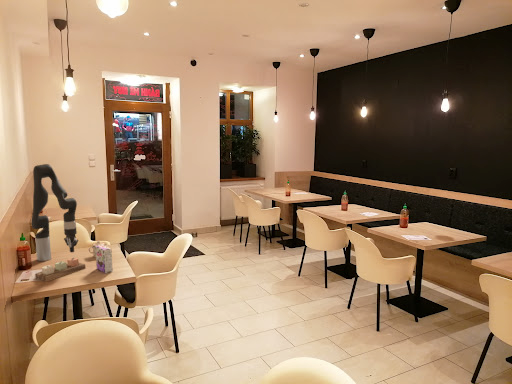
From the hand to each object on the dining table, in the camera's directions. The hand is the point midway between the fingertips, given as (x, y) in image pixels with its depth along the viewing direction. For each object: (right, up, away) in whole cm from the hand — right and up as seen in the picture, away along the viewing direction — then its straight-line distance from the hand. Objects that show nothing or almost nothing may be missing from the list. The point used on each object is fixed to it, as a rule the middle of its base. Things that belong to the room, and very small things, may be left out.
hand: (72, 252), depth 264 cm
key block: (-4, -13, -6) cm, 15 cm away
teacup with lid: (+5, -8, +31) cm, 33 cm away
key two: (-4, -10, -6) cm, 13 cm away
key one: (-9, -11, -14) cm, 20 cm away
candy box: (+23, -13, -1) cm, 26 cm away
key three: (0, -9, +1) cm, 9 cm away
